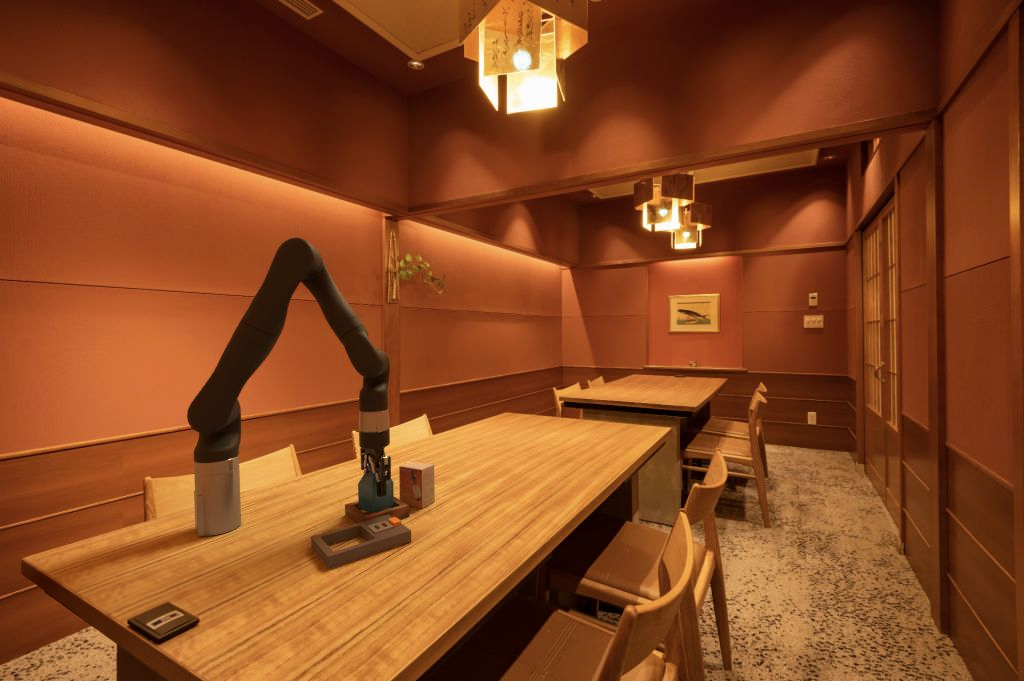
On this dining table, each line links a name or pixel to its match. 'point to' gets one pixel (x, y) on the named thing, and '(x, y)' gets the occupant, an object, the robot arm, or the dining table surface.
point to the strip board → (378, 538)
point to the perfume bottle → (374, 493)
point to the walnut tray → (359, 515)
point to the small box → (417, 484)
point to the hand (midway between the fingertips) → (375, 491)
